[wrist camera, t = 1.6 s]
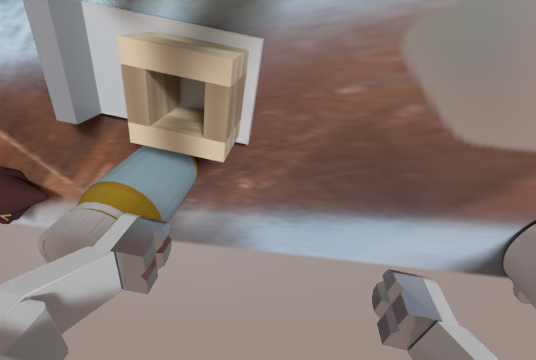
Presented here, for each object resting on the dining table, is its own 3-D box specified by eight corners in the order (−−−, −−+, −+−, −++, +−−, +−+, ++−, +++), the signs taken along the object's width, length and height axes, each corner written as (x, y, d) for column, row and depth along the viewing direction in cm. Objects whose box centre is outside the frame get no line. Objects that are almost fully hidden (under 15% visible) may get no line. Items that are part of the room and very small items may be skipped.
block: (249, 50, 22) (232, 60, 17) (238, 134, 27) (223, 162, 22) (159, 31, 22) (117, 35, 17) (163, 118, 27) (130, 142, 22)
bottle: (172, 194, 34) (93, 300, 21) (131, 153, 31) (14, 245, 19) (211, 171, 31) (147, 276, 19) (171, 124, 29) (64, 209, 16)
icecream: (1, 175, 27) (-92, 173, 31) (24, 238, 29) (-65, 230, 33) (64, 160, 34) (-18, 160, 37) (80, 213, 36) (0, 208, 39)
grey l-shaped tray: (264, 38, 23) (256, 42, 19) (249, 140, 28) (240, 159, 25) (67, -3, 23) (21, -7, 19) (89, 106, 29) (57, 120, 25)
